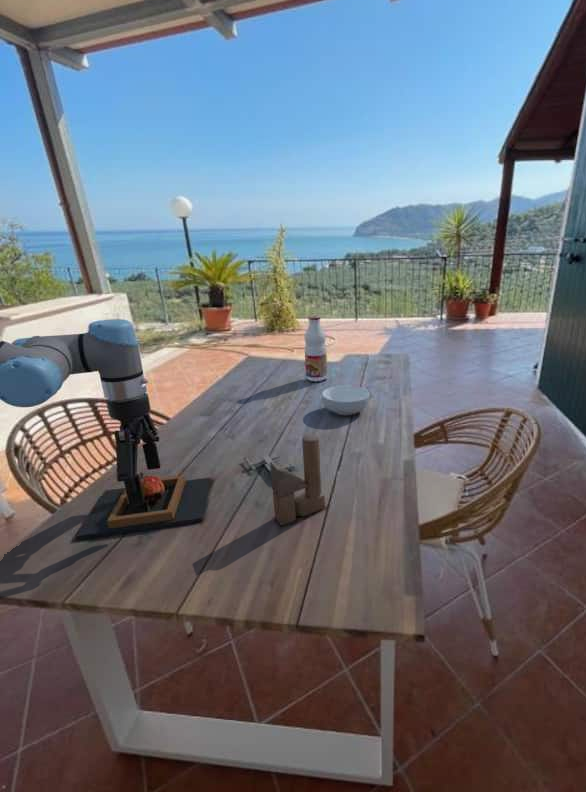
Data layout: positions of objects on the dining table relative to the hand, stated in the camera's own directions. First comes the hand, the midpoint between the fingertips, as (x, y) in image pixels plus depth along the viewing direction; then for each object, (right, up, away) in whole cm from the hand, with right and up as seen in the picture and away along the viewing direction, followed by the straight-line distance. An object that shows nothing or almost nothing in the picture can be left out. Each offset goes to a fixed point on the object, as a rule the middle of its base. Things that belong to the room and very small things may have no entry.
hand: (146, 484), depth 87 cm
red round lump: (0, -5, +1) cm, 5 cm away
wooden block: (+34, -7, 0) cm, 35 cm away
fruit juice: (+29, +24, +86) cm, 94 cm away
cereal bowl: (+43, +13, +53) cm, 69 cm away
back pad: (0, -6, +2) cm, 6 cm away
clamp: (+24, 0, +17) cm, 29 cm away
